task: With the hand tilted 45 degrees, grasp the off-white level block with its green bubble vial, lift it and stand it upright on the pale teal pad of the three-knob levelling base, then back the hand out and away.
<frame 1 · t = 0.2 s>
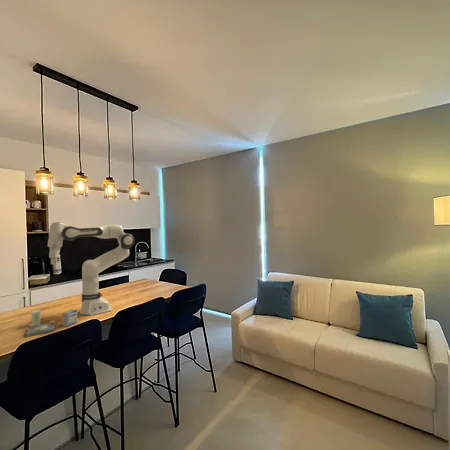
hand: (53, 263, 184), 38 cm above the counter, tool pointing down, fingers open, 8 cm apart
levelling base: (41, 330, 161), on the counter
level block: (36, 323, 172), on the counter
medicine box: (70, 324, 171), on the counter
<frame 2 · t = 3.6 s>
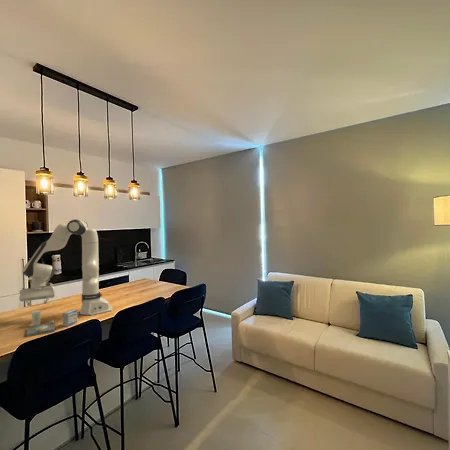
hand: (37, 304, 178), 11 cm above the counter, tool tilted 45°, fingers open, 8 cm apart
nothing on the counter moved.
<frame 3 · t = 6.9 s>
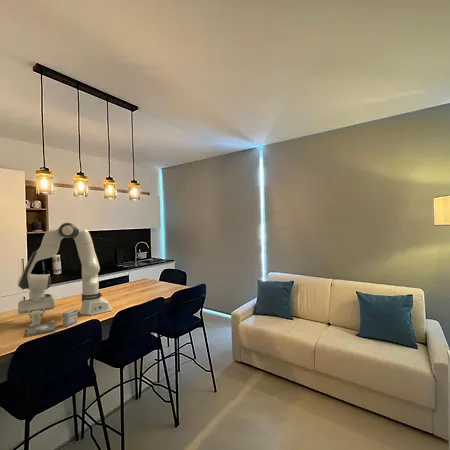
hand: (36, 316, 171), 5 cm above the counter, tool tilted 45°, fingers closed on level block, 4 cm apart
level block: (36, 323, 172), on the counter, touching gripper
everything else where it was.
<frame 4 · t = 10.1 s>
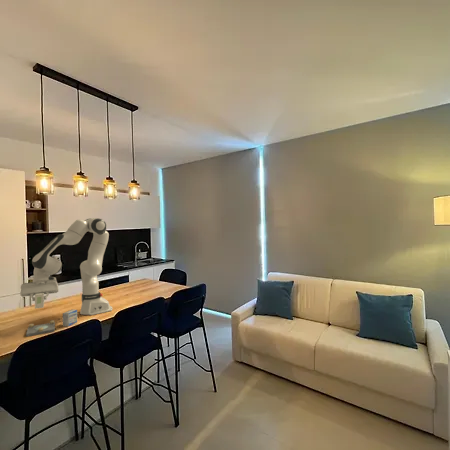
hand: (39, 299, 164), 18 cm above the counter, tool tilted 45°, fingers closed on level block, 4 cm apart
level block: (39, 307, 164), point 13 cm above the counter, touching gripper
everything else where it was.
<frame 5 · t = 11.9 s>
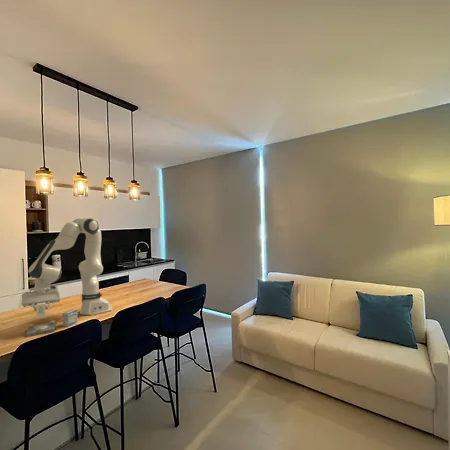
hand: (41, 309, 161), 13 cm above the counter, tool tilted 45°, fingers closed on level block, 4 cm apart
level block: (40, 317, 161), point 8 cm above the counter, touching gripper
everything else where it was.
when the fingers open (8 cm above the counter, at t = 13.4 s): level block drops 1 cm, resting on levelling base.
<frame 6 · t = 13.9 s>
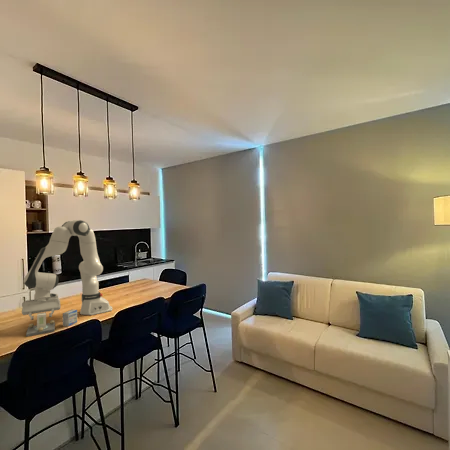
hand: (41, 317, 161), 8 cm above the counter, tool tilted 45°, fingers open, 8 cm apart
level block: (41, 327, 161), point 2 cm above the counter, touching levelling base
everything else where it was.
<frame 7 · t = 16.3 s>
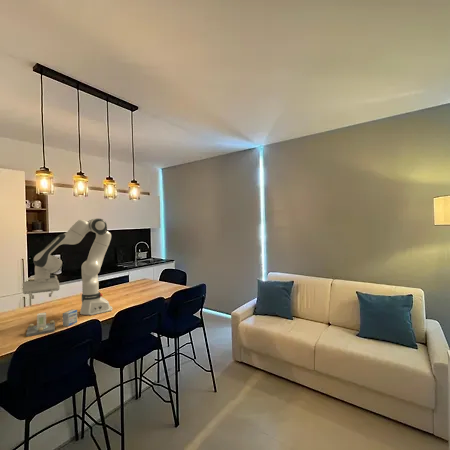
hand: (41, 297, 169), 18 cm above the counter, tool tilted 45°, fingers open, 8 cm apart
nothing on the counter moved.
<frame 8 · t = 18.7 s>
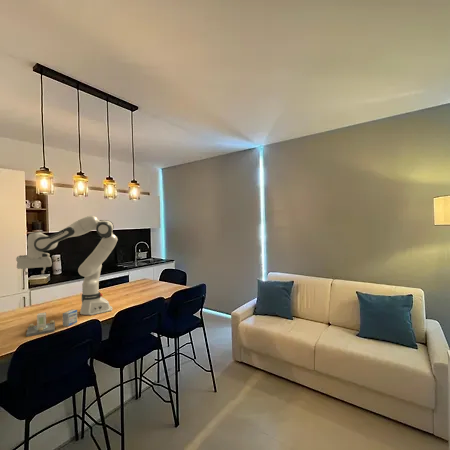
hand: (34, 274, 185), 31 cm above the counter, tool pointing down, fingers open, 8 cm apart
nothing on the counter moved.
at the end: level block inside the target area on the levelling base (0.1 cm from its centre), point 1.7 cm above the levelling base's base; level block tilted 0°; the gripper is holding nothing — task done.
